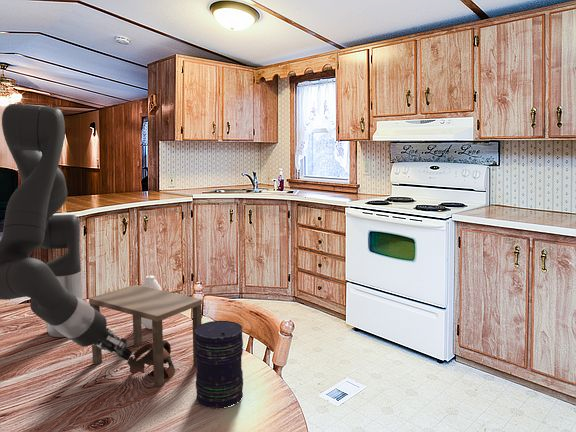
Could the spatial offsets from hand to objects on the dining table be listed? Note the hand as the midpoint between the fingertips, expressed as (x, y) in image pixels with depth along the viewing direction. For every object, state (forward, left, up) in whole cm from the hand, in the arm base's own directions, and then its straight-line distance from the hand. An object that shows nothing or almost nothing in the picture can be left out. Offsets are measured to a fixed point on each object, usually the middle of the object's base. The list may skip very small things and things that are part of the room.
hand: (127, 355), depth 113 cm
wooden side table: (0, +6, -4) cm, 7 cm away
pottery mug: (+5, +3, -4) cm, 8 cm away
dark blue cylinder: (+25, +3, -4) cm, 26 cm away
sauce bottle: (-17, +23, -4) cm, 29 cm away
